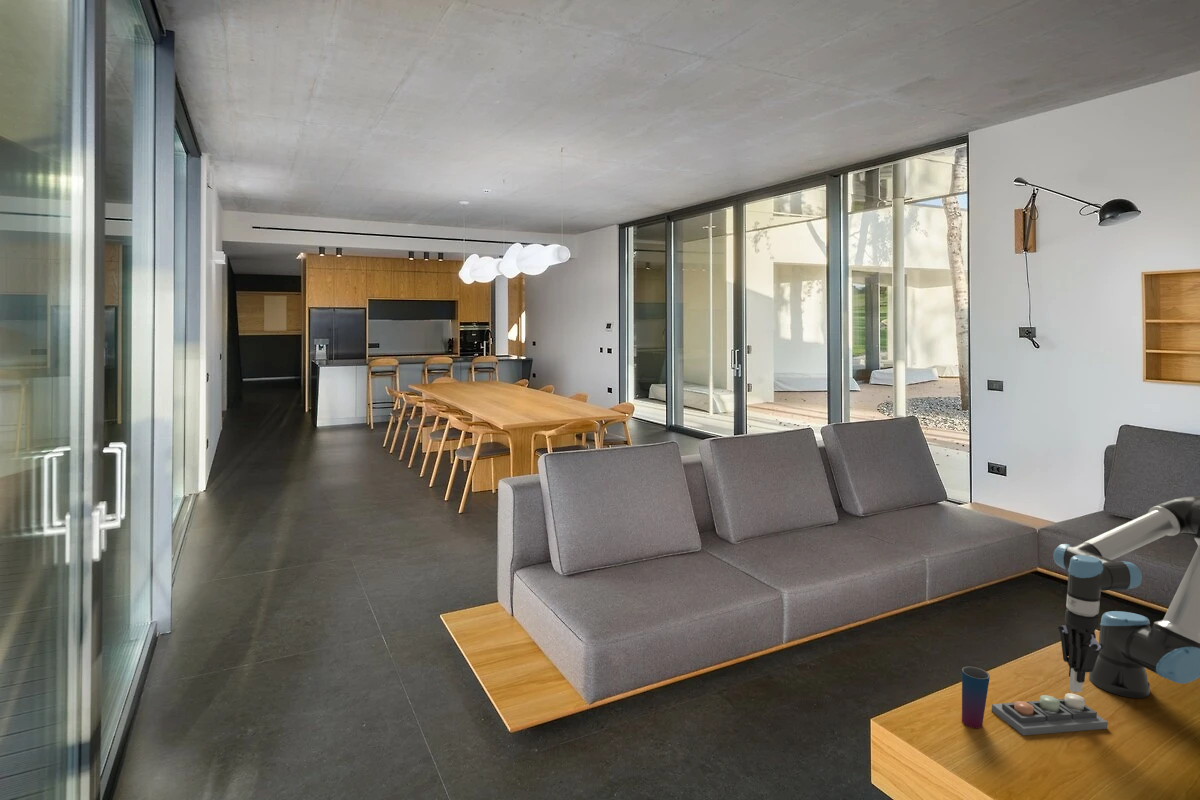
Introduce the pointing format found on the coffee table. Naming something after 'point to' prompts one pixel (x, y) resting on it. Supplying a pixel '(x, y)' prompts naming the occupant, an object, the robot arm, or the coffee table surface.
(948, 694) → the coffee table surface
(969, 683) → the cup
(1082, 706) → the button cream
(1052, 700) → the button sage
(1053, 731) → the panel
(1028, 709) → the button rust
